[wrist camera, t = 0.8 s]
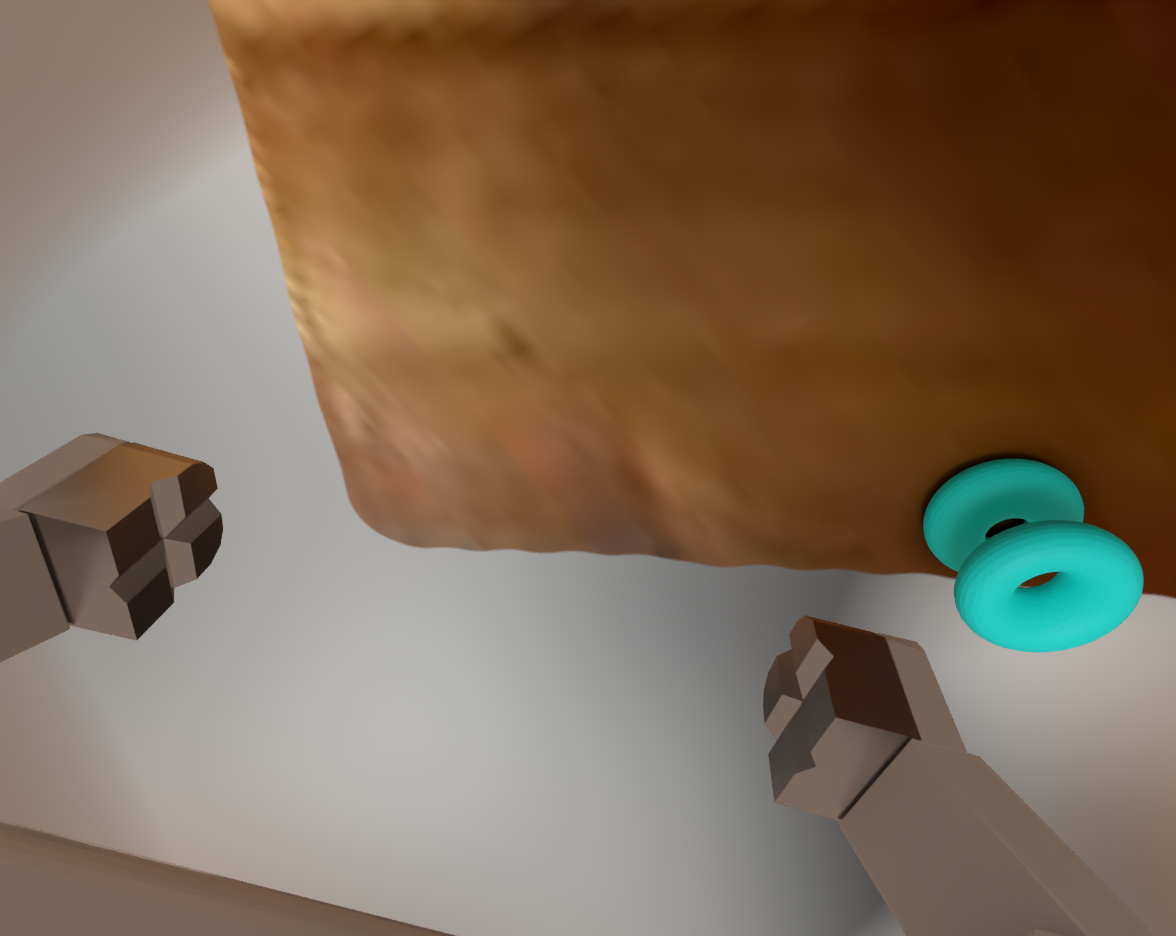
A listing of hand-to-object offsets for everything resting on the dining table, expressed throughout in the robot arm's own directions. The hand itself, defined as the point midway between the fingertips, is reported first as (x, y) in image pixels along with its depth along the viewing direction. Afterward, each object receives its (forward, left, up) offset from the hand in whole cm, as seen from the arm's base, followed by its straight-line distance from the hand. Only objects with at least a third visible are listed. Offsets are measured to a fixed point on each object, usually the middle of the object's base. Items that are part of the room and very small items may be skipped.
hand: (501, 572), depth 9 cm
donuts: (-23, +25, -35) cm, 49 cm away
